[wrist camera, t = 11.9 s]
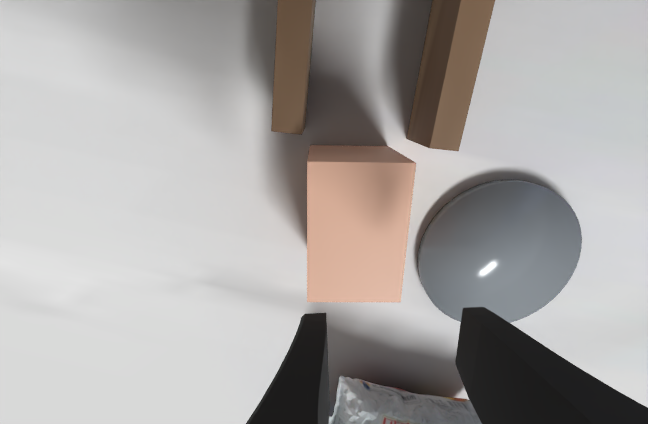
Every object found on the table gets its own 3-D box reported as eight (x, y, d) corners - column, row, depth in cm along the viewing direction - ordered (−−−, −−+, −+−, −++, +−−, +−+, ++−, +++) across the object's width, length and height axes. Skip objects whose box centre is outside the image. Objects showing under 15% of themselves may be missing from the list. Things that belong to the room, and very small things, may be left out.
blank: (387, 145, 16) (415, 163, 12) (378, 250, 18) (400, 302, 14) (310, 144, 16) (306, 161, 11) (309, 250, 18) (307, 302, 13)
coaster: (597, 188, 17) (607, 191, 17) (543, 324, 20) (549, 331, 19) (436, 171, 17) (440, 174, 16) (404, 313, 20) (407, 320, 19)
